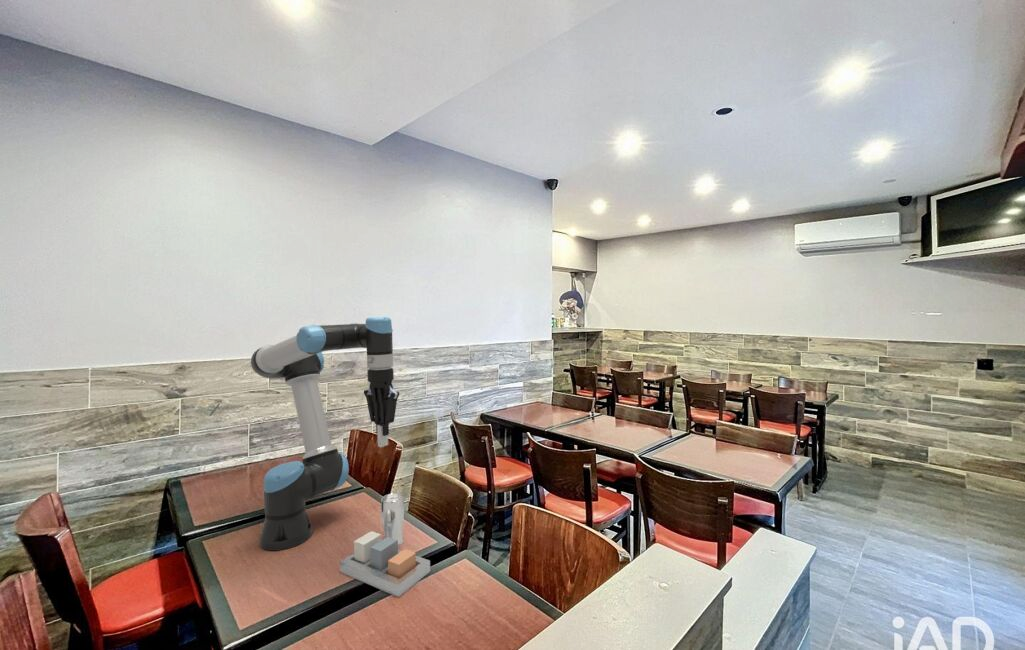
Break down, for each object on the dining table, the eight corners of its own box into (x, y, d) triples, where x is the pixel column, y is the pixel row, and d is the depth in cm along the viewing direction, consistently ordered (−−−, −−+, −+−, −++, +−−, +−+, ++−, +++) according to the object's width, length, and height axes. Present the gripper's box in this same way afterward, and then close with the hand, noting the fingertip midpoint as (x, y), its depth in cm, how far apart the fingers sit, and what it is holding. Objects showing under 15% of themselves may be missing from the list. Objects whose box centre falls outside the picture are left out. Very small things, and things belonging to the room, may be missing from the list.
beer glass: (399, 551, 129) (397, 503, 129) (377, 549, 130) (376, 501, 130) (409, 539, 136) (407, 493, 135) (388, 538, 137) (387, 492, 137)
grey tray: (340, 575, 118) (340, 561, 118) (374, 553, 128) (374, 540, 128) (398, 600, 107) (397, 585, 107) (430, 574, 117) (429, 560, 117)
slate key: (371, 565, 116) (370, 547, 116) (388, 553, 121) (387, 536, 121) (381, 569, 114) (380, 551, 114) (398, 557, 119) (397, 540, 119)
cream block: (354, 558, 119) (353, 541, 119) (372, 547, 125) (371, 531, 124) (364, 562, 117) (363, 544, 117) (381, 551, 123) (381, 534, 122)
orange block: (388, 579, 113) (388, 560, 112) (405, 566, 118) (404, 549, 118) (399, 583, 111) (399, 564, 110) (416, 570, 116) (415, 552, 116)
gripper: (355, 368, 128) (358, 446, 129) (386, 370, 122) (389, 452, 122) (374, 365, 135) (377, 439, 135) (405, 367, 128) (407, 445, 129)
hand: (383, 445), depth 129 cm, fingers closed
